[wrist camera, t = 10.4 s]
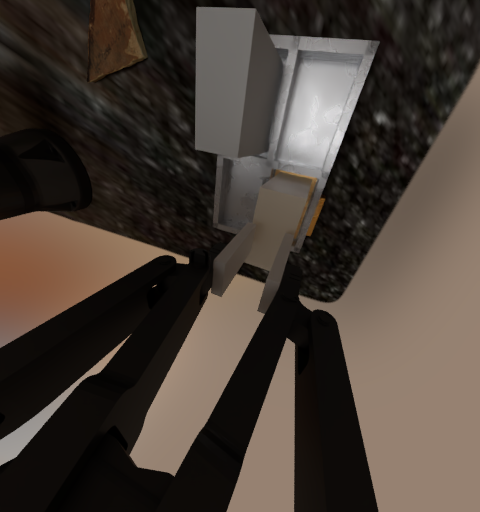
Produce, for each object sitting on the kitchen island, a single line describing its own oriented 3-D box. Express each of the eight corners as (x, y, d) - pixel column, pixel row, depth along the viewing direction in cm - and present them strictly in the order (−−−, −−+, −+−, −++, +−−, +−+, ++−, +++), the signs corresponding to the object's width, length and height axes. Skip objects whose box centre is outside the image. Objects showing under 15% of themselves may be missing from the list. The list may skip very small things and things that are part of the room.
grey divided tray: (220, 220, 32) (212, 226, 29) (237, 44, 20) (226, 31, 18) (304, 245, 29) (303, 254, 26) (379, 55, 17) (388, 41, 15)
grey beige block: (266, 228, 29) (244, 262, 21) (280, 171, 24) (259, 187, 16) (292, 236, 28) (280, 274, 20) (312, 179, 23) (307, 199, 15)
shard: (97, 84, 28) (85, 81, 27) (69, 9, 25) (54, 0, 23) (152, 63, 24) (141, 58, 23) (129, -31, 21) (114, -44, 19)
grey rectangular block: (236, 146, 25) (195, 149, 17) (246, 60, 20) (196, 6, 12) (266, 152, 24) (237, 158, 16) (283, 63, 19) (256, 8, 11)
